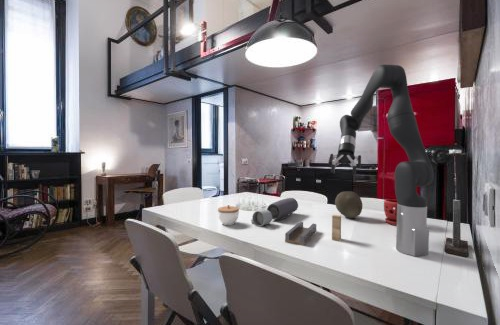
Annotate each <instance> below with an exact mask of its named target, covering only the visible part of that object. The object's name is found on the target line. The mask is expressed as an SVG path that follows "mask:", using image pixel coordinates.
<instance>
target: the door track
mask: <svg viewBox="0 0 500 325" xmlns="http://www.w3.org/2000/svg"><path fill="white" fill-rule="evenodd" d="M316 232H318V231H317V223H312V224H311V225H310V226H309V227H304V221H299V222H297V223H296V224H295V225H294V226H293V227H291V228H290V229H289V230H288V231H286V232H285V234H284V236H285V237H284V242H285V243H288V244H294V245H298V246H299V245H301V246H306V244H307V243H308V242H309V241H310V240H311V238H312V237H314V236H315V234H316Z"/></svg>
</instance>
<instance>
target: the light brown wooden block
mask: <svg viewBox="0 0 500 325" xmlns="http://www.w3.org/2000/svg"><path fill="white" fill-rule="evenodd" d="M331 220H332V221H331V240H332V241H337V242H340V241H341V239H342V214H335V213H334V214H332V217H331Z"/></svg>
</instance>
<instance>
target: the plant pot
mask: <svg viewBox="0 0 500 325" xmlns="http://www.w3.org/2000/svg"><path fill="white" fill-rule="evenodd" d="M383 211H384V214H385V217H386V218H384V221H385V222H386V223H387V224H389V225H393V226H396V227H397V199H384V200H383Z"/></svg>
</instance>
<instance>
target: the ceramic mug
mask: <svg viewBox="0 0 500 325" xmlns="http://www.w3.org/2000/svg"><path fill="white" fill-rule="evenodd" d="M272 220H273V219H272V214H271V212H270V211H268V210H267V209H261V210H260V209H259V210H255V211H254V212H253V214H252V218H251V219H250V222H251V223H252V224H254V225H255V227H256V226H257V227H258V228H259V227H263V226H267V225H268V224H270V223H271V222H272Z"/></svg>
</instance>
